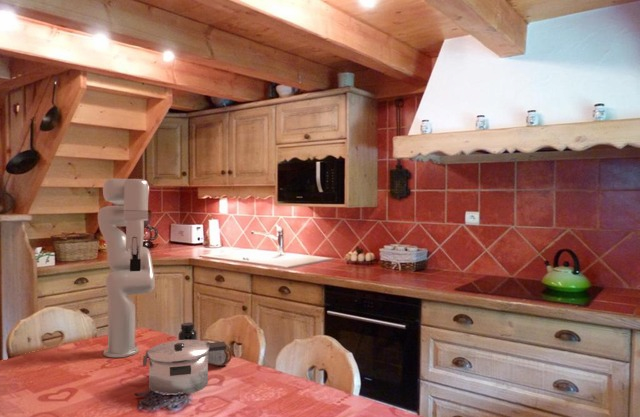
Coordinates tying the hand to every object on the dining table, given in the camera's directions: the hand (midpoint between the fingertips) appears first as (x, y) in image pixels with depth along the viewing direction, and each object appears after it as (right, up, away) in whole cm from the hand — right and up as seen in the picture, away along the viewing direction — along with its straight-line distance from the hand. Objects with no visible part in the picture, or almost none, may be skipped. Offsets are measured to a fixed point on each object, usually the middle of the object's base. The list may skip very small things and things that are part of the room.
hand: (135, 270), depth 155 cm
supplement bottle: (+11, -35, +21) cm, 43 cm away
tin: (+23, -36, +13) cm, 44 cm away
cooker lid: (+19, -25, -6) cm, 32 cm away
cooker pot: (+17, -36, -6) cm, 40 cm away
